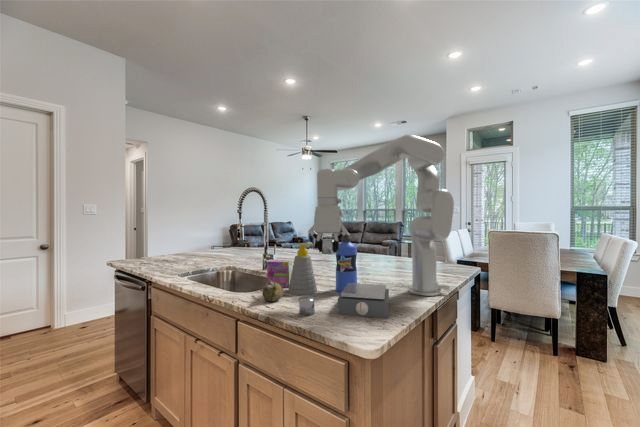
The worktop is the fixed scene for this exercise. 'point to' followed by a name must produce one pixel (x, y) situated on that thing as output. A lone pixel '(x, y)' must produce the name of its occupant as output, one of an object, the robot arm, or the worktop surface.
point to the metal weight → (327, 246)
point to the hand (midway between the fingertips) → (328, 251)
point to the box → (279, 272)
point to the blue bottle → (346, 263)
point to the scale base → (364, 306)
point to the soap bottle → (302, 274)
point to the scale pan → (364, 291)
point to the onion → (272, 291)
